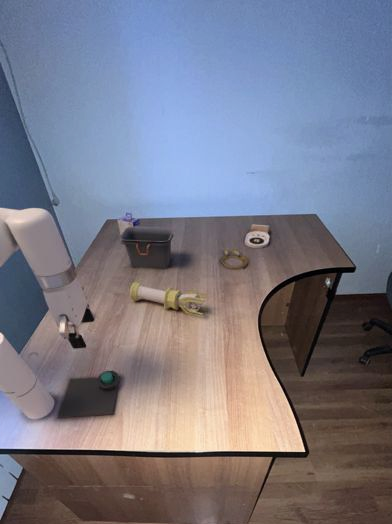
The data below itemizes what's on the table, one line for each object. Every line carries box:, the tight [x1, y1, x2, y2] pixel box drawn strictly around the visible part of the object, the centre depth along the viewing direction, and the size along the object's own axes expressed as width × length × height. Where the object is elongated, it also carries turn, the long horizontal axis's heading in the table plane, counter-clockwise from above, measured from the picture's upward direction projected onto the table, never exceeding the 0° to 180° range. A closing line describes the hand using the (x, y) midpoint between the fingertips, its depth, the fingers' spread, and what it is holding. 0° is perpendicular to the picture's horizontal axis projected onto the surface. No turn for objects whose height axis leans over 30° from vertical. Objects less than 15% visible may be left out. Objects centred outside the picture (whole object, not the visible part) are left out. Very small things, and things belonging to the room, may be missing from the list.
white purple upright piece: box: [117, 212, 141, 235], centre depth 131 cm, size 10×6×14 cm, turn 60°
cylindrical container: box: [0, 332, 55, 420], centre depth 62 cm, size 7×7×25 cm
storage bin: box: [119, 226, 174, 270], centre depth 116 cm, size 21×16×14 cm
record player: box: [244, 224, 270, 249], centre depth 135 cm, size 12×3×20 cm
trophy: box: [129, 280, 209, 318], centre depth 97 cm, size 8×8×30 cm
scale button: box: [101, 371, 113, 384], centre depth 73 cm, size 3×3×2 cm
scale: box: [57, 370, 121, 419], centre depth 72 cm, size 14×13×3 cm
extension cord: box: [221, 249, 248, 270], centre depth 121 cm, size 12×16×2 cm
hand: (84, 333), depth 68 cm, fingers open, 9 cm apart
